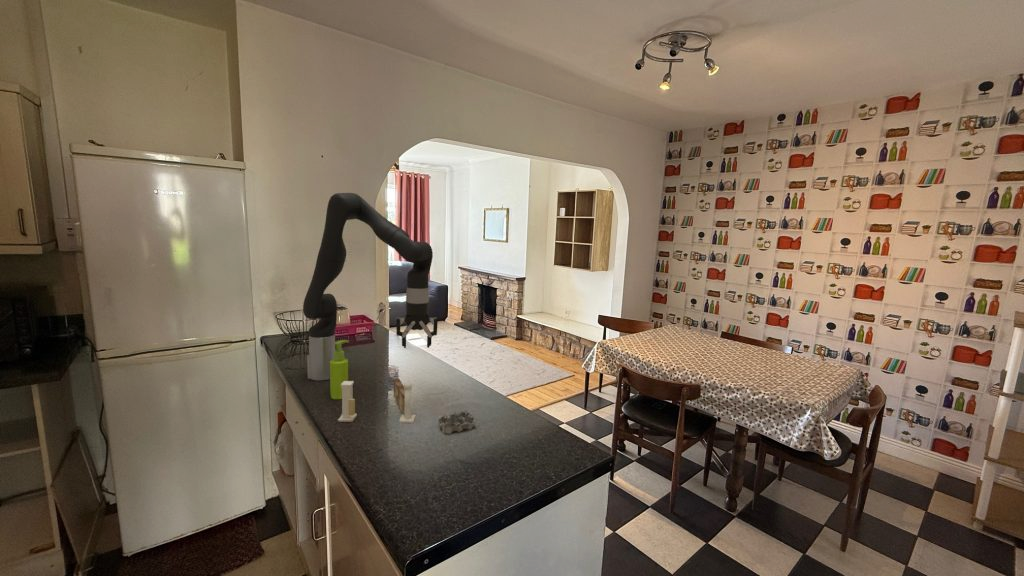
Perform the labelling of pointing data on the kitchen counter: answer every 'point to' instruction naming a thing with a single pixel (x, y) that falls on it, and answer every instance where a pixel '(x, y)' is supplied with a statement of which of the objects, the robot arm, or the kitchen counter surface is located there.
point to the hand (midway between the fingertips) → (416, 347)
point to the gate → (399, 393)
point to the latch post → (347, 402)
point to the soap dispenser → (338, 371)
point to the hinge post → (407, 405)
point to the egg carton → (456, 421)
